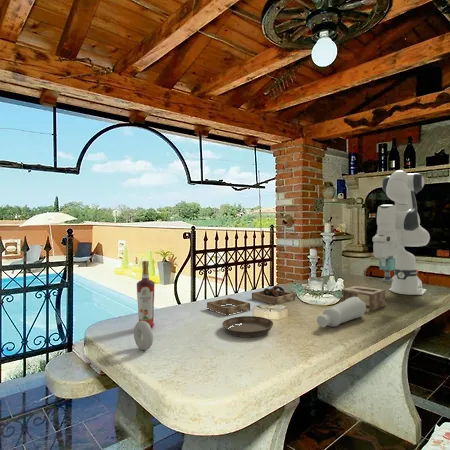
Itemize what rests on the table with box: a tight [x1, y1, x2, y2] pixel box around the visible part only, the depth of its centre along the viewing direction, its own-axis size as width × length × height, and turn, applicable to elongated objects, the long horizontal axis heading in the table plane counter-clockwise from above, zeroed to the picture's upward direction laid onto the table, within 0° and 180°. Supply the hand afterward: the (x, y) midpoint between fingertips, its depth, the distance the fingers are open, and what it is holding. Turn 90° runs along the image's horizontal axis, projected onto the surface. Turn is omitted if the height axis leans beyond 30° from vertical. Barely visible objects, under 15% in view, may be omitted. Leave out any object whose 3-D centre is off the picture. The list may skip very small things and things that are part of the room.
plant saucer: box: [221, 315, 274, 338], centre depth 130 cm, size 21×21×3 cm
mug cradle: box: [251, 289, 296, 305], centre depth 183 cm, size 16×18×4 cm
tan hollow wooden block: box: [341, 285, 386, 311], centre depth 167 cm, size 14×16×8 cm
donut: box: [133, 320, 154, 351], centre depth 111 cm, size 10×4×10 cm, turn 43°
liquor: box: [136, 260, 155, 329], centre depth 135 cm, size 7×7×28 cm
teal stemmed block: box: [378, 257, 396, 283], centre depth 159 cm, size 5×5×12 cm
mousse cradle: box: [206, 297, 251, 316], centre depth 162 cm, size 15×16×4 cm
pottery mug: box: [262, 285, 286, 297], centre depth 184 cm, size 12×10×8 cm
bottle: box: [316, 296, 367, 328], centre depth 139 cm, size 9×9×30 cm
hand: (387, 265), depth 159 cm, fingers closed on teal stemmed block, 5 cm apart
